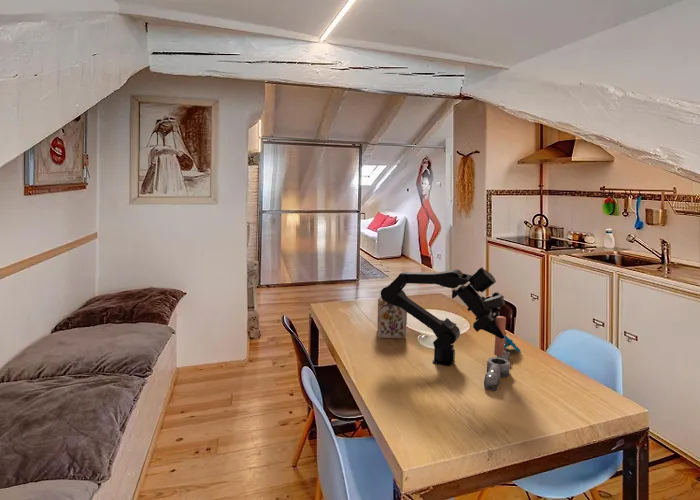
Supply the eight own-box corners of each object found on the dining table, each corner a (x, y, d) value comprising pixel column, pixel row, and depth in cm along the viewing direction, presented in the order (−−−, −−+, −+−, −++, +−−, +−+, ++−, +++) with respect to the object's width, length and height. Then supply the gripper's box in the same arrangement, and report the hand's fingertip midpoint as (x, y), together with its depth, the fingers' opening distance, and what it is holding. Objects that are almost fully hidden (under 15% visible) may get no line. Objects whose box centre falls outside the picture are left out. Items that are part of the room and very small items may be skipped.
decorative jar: (406, 339, 178) (407, 297, 175) (378, 338, 178) (379, 296, 175) (403, 329, 190) (404, 290, 187) (377, 329, 190) (377, 289, 187)
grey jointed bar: (478, 388, 134) (478, 375, 134) (494, 355, 160) (495, 345, 160) (501, 393, 131) (502, 380, 131) (514, 359, 157) (515, 348, 156)
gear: (525, 352, 159) (506, 333, 160) (513, 363, 160) (494, 344, 160) (516, 345, 170) (498, 327, 171) (505, 355, 171) (487, 337, 171)
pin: (493, 354, 144) (495, 317, 142) (495, 351, 147) (497, 315, 145) (502, 356, 143) (505, 319, 141) (504, 353, 146) (506, 316, 144)
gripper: (485, 292, 135) (520, 331, 132) (495, 280, 152) (526, 315, 148) (459, 312, 140) (492, 350, 137) (472, 299, 156) (501, 333, 153)
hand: (504, 336), depth 143 cm, fingers closed on pin, 3 cm apart
